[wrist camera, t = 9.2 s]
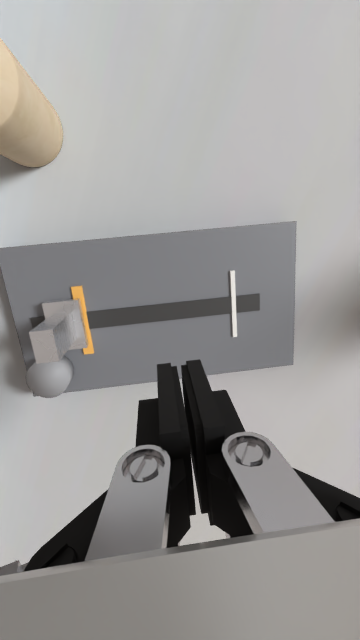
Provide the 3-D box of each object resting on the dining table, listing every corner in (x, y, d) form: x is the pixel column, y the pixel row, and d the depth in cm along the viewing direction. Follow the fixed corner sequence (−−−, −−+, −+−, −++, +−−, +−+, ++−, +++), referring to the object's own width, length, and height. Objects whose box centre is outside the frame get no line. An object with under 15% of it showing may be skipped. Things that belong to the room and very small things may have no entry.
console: (7, 247, 26) (-18, 249, 22) (286, 222, 28) (307, 219, 24) (41, 386, 30) (24, 407, 26) (284, 357, 32) (302, 373, 28)
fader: (45, 301, 25) (14, 319, 20) (80, 297, 26) (59, 314, 20) (55, 348, 27) (29, 377, 21) (88, 344, 27) (71, 372, 21)
